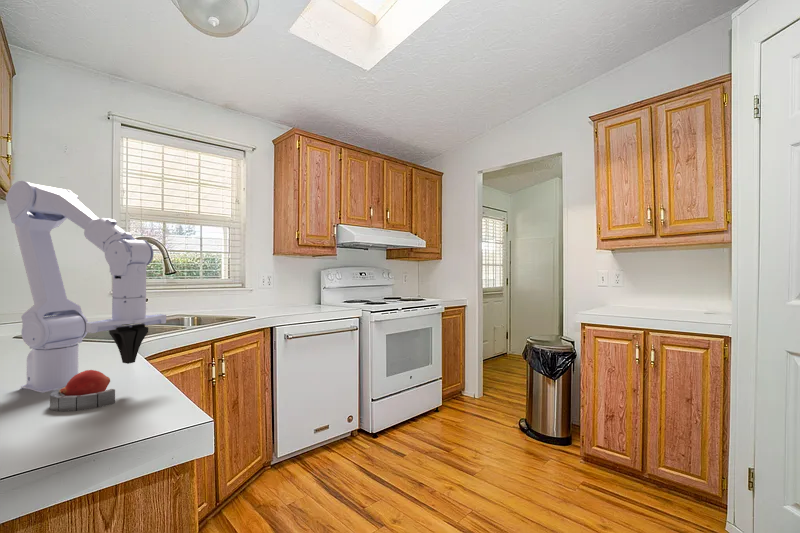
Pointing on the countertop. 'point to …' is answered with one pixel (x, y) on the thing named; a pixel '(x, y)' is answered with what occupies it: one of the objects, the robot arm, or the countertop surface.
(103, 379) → the onion
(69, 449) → the countertop surface
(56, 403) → the split collar
